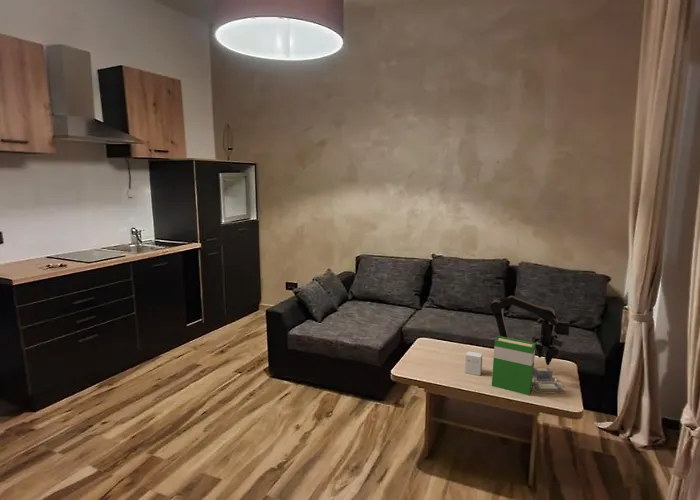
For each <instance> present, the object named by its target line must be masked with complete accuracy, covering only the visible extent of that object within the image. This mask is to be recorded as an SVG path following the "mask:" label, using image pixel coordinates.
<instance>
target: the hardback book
mask: <svg viewBox="0 0 700 500" xmlns="http://www.w3.org/2000/svg"><path fill="white" fill-rule="evenodd" d="M535 346H536V343H533V342H532V341H527V340H521V339H516V338H512V337H509V338H507V337H501V336H500V335H498V336H497V339H495V340H494V348H493V361H492V372H491V374H492V376H491V387H494V388H498V389H502V390H506V391H510V392H514V393H517V394H521V395H526V396H530V394H531V392H532V390H533V389H532V388H533V386H532V382H533V381H534V378H533V369H534V368H535V358H536V357H535V355H536V349H535Z"/></svg>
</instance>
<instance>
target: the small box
mask: <svg viewBox="0 0 700 500" xmlns="http://www.w3.org/2000/svg"><path fill="white" fill-rule="evenodd" d="M482 369H483V353H481V352H475V351H467V352H466V354H465V367H464V373H465V374H469V375H473V376H477V377H478V376H479V377H481V374H482Z"/></svg>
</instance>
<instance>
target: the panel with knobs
mask: <svg viewBox="0 0 700 500" xmlns="http://www.w3.org/2000/svg"><path fill="white" fill-rule="evenodd" d="M562 384H563V383H562V382H560V381H559V382H558V378H556V377H555V378H554V382H553V381H537V378H533V381H532V388H533V389H535V391H536V392H537V393H544V392H566V391H565V389H563V387H562V386H563V385H562Z"/></svg>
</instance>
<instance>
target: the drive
mask: <svg viewBox="0 0 700 500" xmlns="http://www.w3.org/2000/svg"><path fill="white" fill-rule="evenodd" d="M553 373H554V372H553V370H552V369H551V368H549V367H534V369H533V379H534V378H537V382H553Z"/></svg>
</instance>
